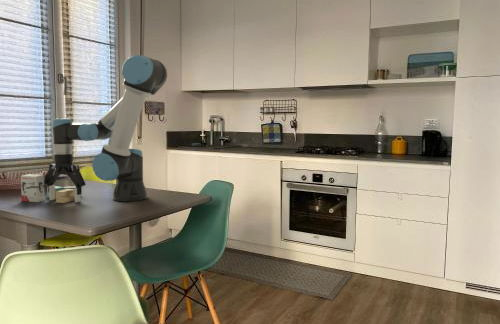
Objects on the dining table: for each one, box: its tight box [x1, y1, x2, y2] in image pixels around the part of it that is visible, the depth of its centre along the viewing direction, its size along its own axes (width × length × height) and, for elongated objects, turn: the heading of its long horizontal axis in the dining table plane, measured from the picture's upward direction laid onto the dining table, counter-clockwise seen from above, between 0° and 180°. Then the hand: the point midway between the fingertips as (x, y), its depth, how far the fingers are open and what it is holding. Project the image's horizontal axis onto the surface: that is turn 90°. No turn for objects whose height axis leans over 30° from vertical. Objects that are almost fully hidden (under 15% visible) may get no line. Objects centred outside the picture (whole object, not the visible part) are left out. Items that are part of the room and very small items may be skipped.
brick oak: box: [55, 189, 75, 204], centre depth 178 cm, size 7×4×5 cm, turn 163°
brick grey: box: [63, 185, 82, 197], centre depth 188 cm, size 7×4×5 cm, turn 98°
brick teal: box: [46, 185, 64, 200], centre depth 187 cm, size 7×4×5 cm, turn 53°
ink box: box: [20, 173, 46, 203], centre depth 178 cm, size 9×5×12 cm, turn 76°
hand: (65, 200), depth 179 cm, fingers open, 13 cm apart
